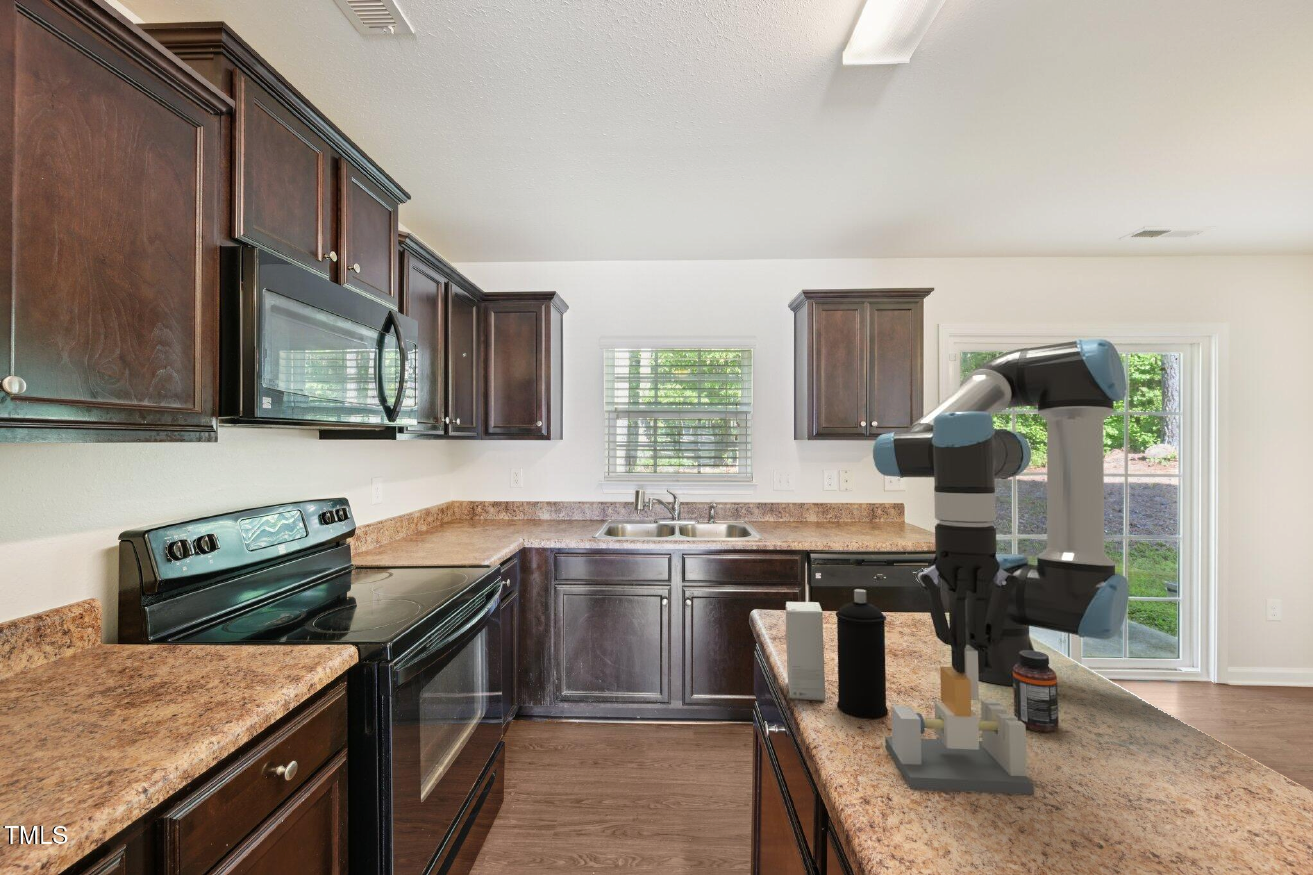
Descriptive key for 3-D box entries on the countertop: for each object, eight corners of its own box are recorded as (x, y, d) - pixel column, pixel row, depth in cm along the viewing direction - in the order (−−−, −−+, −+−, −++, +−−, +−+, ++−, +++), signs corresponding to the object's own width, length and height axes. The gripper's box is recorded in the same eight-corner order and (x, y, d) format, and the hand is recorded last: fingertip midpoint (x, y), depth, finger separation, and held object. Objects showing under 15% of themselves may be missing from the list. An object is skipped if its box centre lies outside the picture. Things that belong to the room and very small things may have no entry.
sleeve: (963, 733, 82) (962, 667, 83) (980, 750, 77) (978, 680, 78) (934, 731, 83) (932, 666, 83) (948, 749, 78) (947, 679, 78)
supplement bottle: (1016, 713, 97) (1014, 645, 98) (1059, 723, 94) (1057, 652, 94) (1011, 727, 93) (1009, 654, 93) (1057, 737, 89) (1055, 662, 89)
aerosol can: (863, 723, 94) (861, 597, 95) (826, 704, 101) (824, 588, 102) (898, 713, 98) (896, 592, 99) (861, 695, 105) (859, 583, 106)
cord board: (992, 751, 85) (990, 695, 85) (1033, 794, 74) (1031, 730, 74) (885, 747, 86) (884, 692, 86) (910, 788, 75) (909, 725, 76)
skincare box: (825, 702, 102) (824, 612, 103) (787, 699, 104) (785, 610, 104) (821, 684, 111) (820, 601, 111) (786, 681, 112) (785, 599, 112)
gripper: (1000, 520, 84) (1004, 686, 83) (907, 520, 85) (910, 684, 84) (1028, 526, 77) (1033, 709, 76) (926, 525, 78) (929, 705, 77)
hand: (968, 695), depth 80 cm, fingers closed
